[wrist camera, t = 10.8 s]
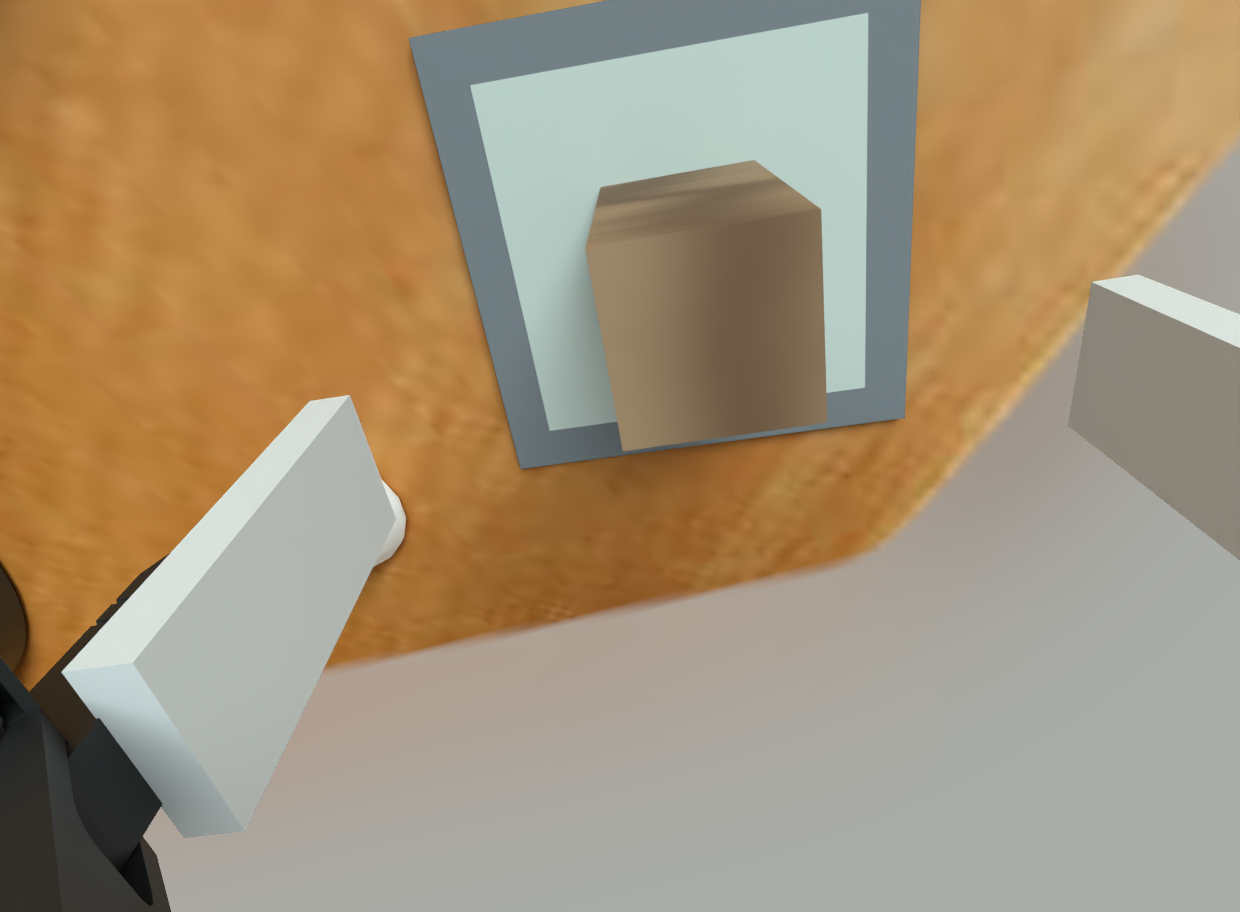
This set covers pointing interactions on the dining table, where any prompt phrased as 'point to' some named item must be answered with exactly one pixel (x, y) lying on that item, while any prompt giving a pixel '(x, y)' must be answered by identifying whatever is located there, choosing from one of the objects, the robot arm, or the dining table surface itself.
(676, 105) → the coaster
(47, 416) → the dining table surface
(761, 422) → the block
